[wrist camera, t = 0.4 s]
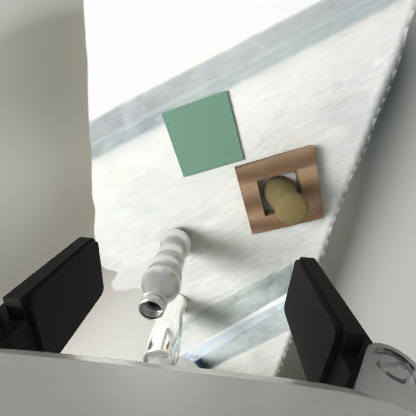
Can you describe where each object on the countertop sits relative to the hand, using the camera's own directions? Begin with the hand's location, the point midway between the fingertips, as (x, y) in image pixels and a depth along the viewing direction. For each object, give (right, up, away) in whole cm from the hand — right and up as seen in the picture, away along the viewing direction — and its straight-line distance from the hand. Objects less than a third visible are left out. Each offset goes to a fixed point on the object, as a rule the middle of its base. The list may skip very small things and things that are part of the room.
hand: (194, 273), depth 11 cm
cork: (+14, +7, +34) cm, 37 cm away
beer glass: (-8, -21, +46) cm, 51 cm away
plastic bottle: (-6, -4, +39) cm, 40 cm away
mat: (0, +16, +30) cm, 35 cm away
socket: (+14, +7, +33) cm, 37 cm away
